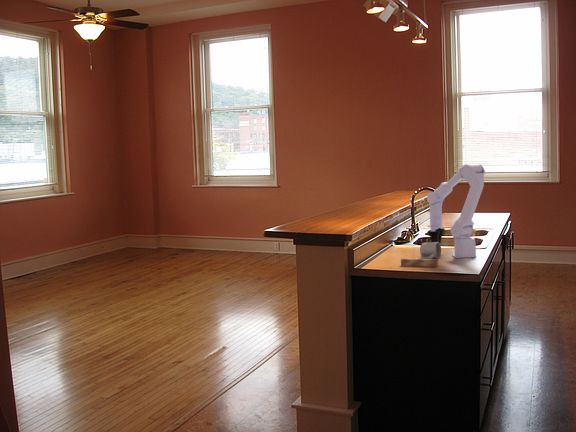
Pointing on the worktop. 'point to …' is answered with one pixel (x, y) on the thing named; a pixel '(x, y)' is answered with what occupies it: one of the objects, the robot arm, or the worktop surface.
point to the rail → (419, 262)
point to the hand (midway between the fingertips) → (436, 244)
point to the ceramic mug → (430, 250)
